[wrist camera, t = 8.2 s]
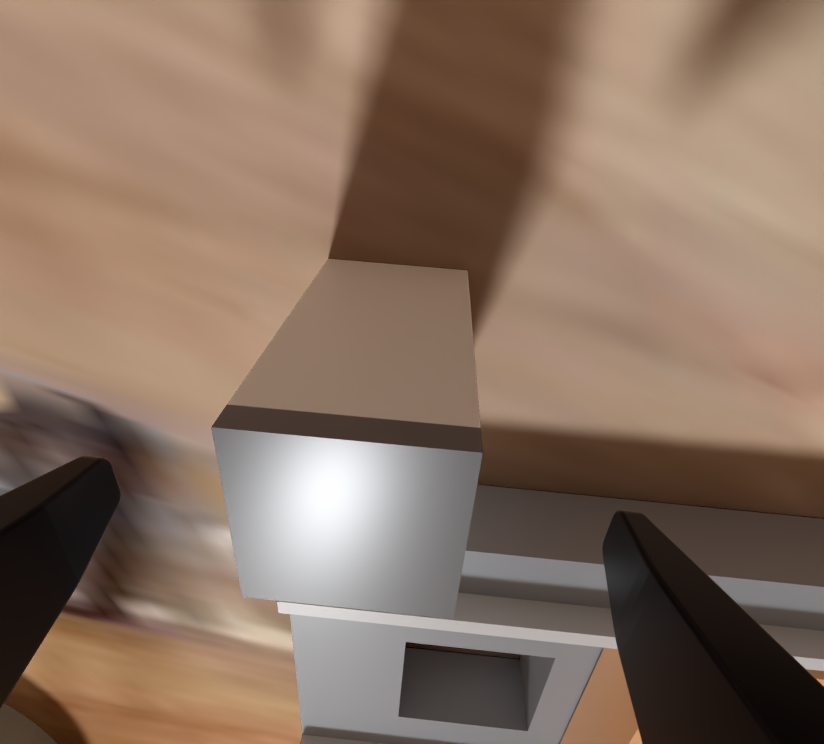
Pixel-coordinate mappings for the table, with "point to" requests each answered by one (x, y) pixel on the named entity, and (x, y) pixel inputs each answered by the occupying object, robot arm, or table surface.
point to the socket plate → (535, 621)
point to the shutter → (610, 706)
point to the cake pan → (20, 729)
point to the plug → (358, 444)
